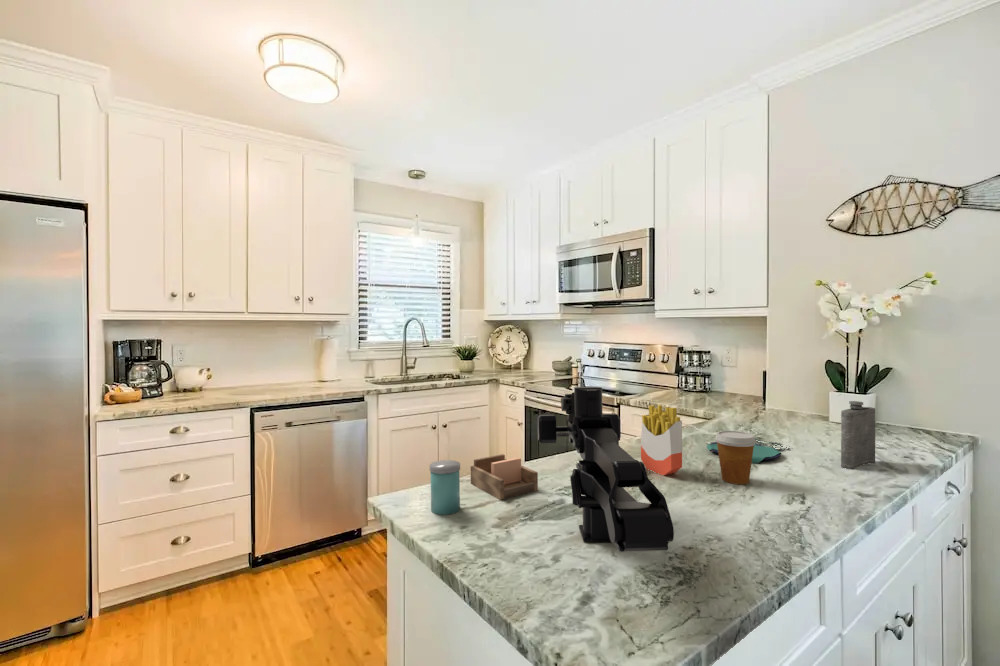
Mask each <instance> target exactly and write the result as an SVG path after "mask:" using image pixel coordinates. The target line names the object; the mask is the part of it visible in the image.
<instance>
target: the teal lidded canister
mask: <svg viewBox="0 0 1000 666" xmlns="http://www.w3.org/2000/svg"><path fill="white" fill-rule="evenodd" d="M429 471H430V512H431V513H432V514H435V515H439V516H448V515H453V514H456V513H458V512H459V511H460V509H461V501H460V500H461V496H460V495H461V492H460V491H461V490H460V489H461V487H460V481H461V480H460V471H461V462H460V461H456V460H451V459H444V460H443V459H441V460H436V461H434V462H433V461H432V462H431V463H429Z"/></svg>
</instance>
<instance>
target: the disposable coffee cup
mask: <svg viewBox="0 0 1000 666" xmlns="http://www.w3.org/2000/svg"><path fill="white" fill-rule="evenodd" d="M754 438H755V435H754V434H752V433H750V432H745V431H740V430H720V431H717V432H716V436H715V437H714V439H715V442H717V446H718V453H717V454H718V459H719V460H718V461H719V468H720V475H721V480H722V481H723V480H724V482H725V483H728V484H733V485H747V484H748V483H750V476H751V471H752V469H751V468H752V464H753V463H752V456H753V448H754V445H755V444H757V443H756V440H755V439H754Z"/></svg>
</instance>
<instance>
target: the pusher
mask: <svg viewBox="0 0 1000 666" xmlns="http://www.w3.org/2000/svg"><path fill="white" fill-rule="evenodd" d="M521 466H522V458H521V457H514V458H513V457H512V458H509V459H507V460H503V461H498V462H493V463H491V474H492V475H495V476H497V477H499V478H501V479H503V480H504V485H506V484H510V483H514V482H518V481H521Z"/></svg>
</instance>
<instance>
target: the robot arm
mask: <svg viewBox="0 0 1000 666" xmlns="http://www.w3.org/2000/svg"><path fill="white" fill-rule="evenodd" d="M573 389H574V391H573V392H571V393H565V394H564V396H563V397H561V398H560V406H561V411H562V412H565V415H566V421H567V422H568V423H567V425H563V426H562V425H557V417H556V414H539V415H538V416H537V440H538V442H539V443H541V444H556V443H557V437H558V438H559V437H563V438H564V437H565V438H566V437H568V438H569V443H571V444H572V446H573V447H574V448H575V451H576V453H578V454H579V456H580V458H581V459H582V460H578V462H577V463H576V464H575V466H576V467H575V468H572V473H571V475H570V478H569V479H570V485H571V486H570V487H571V494H572V499H571V500H572V505H573V506H577V508H578V509H582V524H579V525H578V530H579V533H580V536H581V538H582V541H583V542H586V543H587V542H588V543H589V542H590V543H612V544H614V546H615V548H616V550H617V551H618V552H620V553H624V552H625V553H626V552H656V551H657V552H658V551H668V550H669V543H671V542H673V541H674V537H675V531H674V530H675V529H674V524H673V520H672V517H671V514H670V510H669V507H668V503H667V500H666V497H665V495H664V494H663V493H662V492H661V491H660V490H659V488H657V486H655V484H654V483H653V482H652V481H651V480H650V479H649V477H648V472H647V468H646V466H645V465H644V463H643V462H642V461H639V460H638V459H635V458H634V457H632V455H631V454H629V453H628V452H627V451H625V449H624V448H622V447H621V446H620V443H619V441H620V440H621V433H622V432H621V417H620V416H619V415H618V414H617V413H614V412H613V413H603V388H602V386H576V387H574V388H573ZM625 488H638V489H639V492H640V493H641V494H642V495H643V496H644V497H645V498H646V499H647V501H648V502H649V503H648V502H641V501H637V500H636V499H635V498H634V497H633V495H631V494H630V492H628V491H627V490H626V489H625Z"/></svg>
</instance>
